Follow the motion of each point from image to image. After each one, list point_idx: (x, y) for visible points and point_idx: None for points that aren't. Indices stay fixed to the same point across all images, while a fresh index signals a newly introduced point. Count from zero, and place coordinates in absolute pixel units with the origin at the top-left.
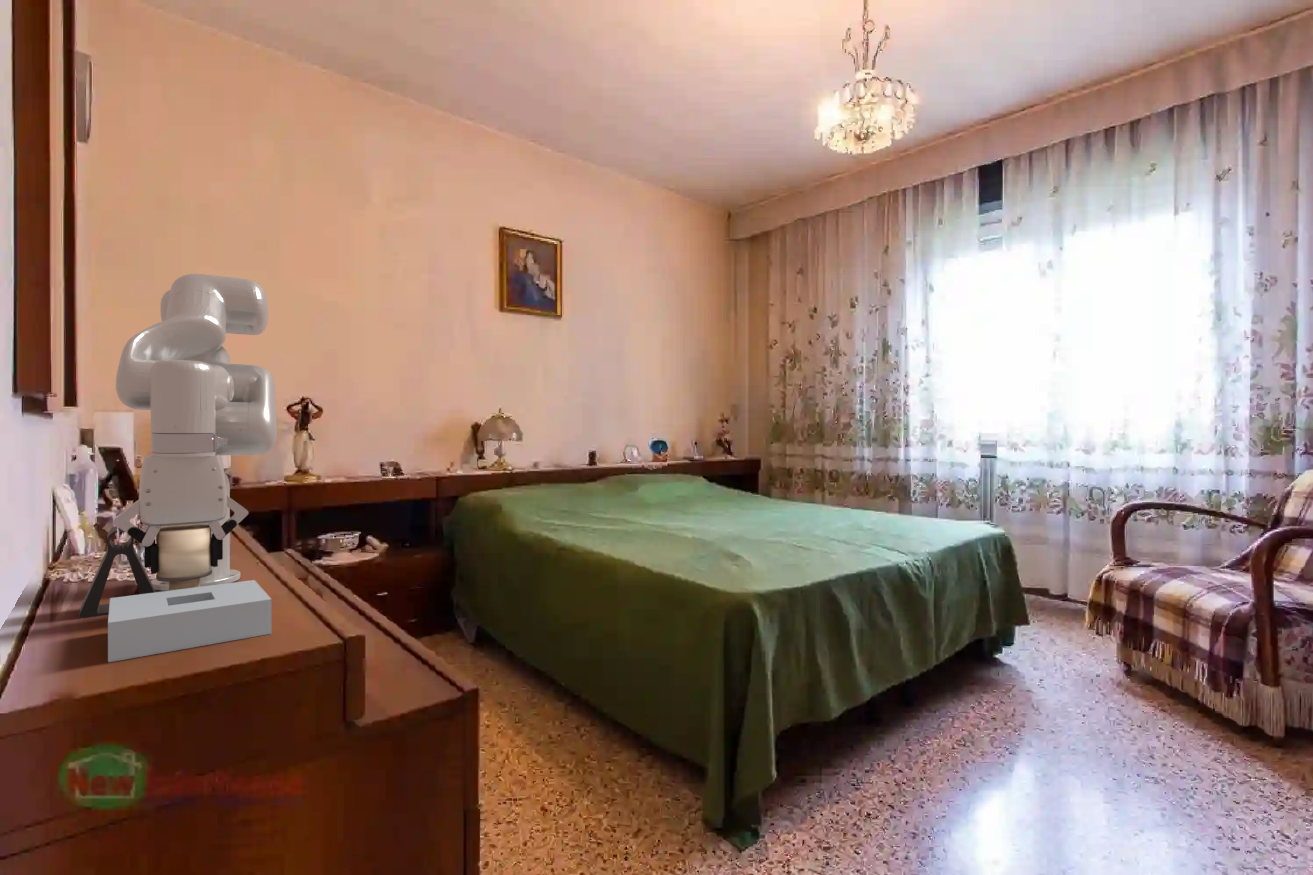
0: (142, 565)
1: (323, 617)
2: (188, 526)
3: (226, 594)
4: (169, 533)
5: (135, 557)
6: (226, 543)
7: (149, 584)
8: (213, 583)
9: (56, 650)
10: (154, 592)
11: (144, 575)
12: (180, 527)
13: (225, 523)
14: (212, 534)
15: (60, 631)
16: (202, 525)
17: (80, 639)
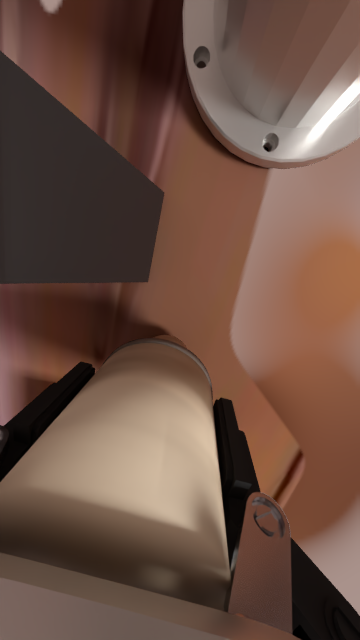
0: (93, 165)
1: None
2: (125, 557)
3: None
4: None
5: (29, 282)
6: None
7: (114, 281)
8: (295, 163)
9: (17, 412)
10: (133, 269)
11: (92, 281)
12: (83, 551)
13: (310, 629)
14: (228, 528)
15: (15, 322)
16: (196, 579)
17: (38, 387)
